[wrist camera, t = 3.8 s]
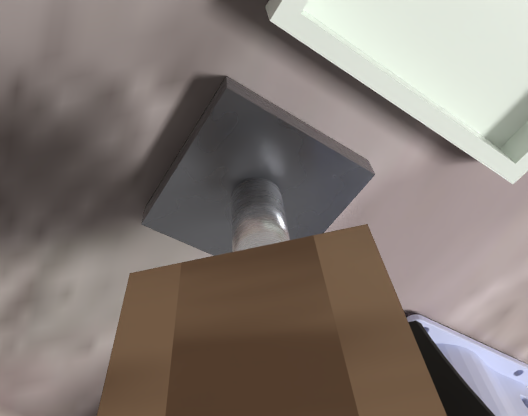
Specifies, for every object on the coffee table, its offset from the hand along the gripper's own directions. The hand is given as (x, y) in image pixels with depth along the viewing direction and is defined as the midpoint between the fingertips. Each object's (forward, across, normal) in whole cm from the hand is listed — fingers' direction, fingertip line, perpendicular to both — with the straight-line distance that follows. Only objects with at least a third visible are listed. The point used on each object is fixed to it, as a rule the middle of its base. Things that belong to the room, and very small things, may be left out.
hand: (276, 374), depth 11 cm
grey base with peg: (+8, 0, 0) cm, 8 cm away
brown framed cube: (+1, 0, 0) cm, 1 cm away
